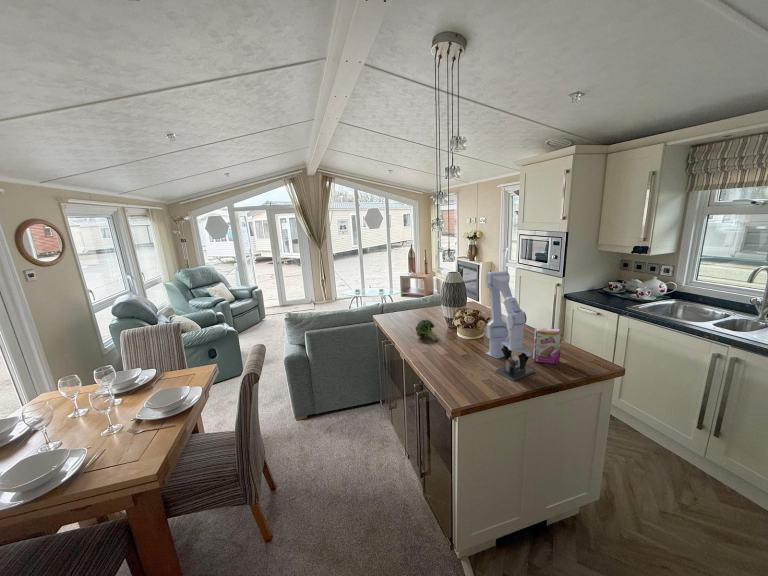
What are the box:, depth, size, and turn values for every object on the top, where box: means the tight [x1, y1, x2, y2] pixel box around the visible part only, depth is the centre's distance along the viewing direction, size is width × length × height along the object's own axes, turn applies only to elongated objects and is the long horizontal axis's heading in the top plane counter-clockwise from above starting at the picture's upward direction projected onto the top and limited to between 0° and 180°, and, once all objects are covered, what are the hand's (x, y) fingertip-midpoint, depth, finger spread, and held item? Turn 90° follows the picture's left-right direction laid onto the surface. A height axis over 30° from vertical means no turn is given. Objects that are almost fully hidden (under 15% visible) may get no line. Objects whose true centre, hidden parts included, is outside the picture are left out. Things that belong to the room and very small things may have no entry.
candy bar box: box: [532, 327, 563, 365], centre depth 151 cm, size 11×5×16 cm, turn 71°
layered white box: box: [508, 355, 520, 369], centre depth 143 cm, size 5×4×6 cm
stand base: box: [495, 359, 535, 382], centre depth 143 cm, size 14×10×7 cm
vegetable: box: [415, 319, 438, 341], centre depth 190 cm, size 12×13×15 cm
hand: (515, 365), depth 143 cm, fingers open, 7 cm apart
